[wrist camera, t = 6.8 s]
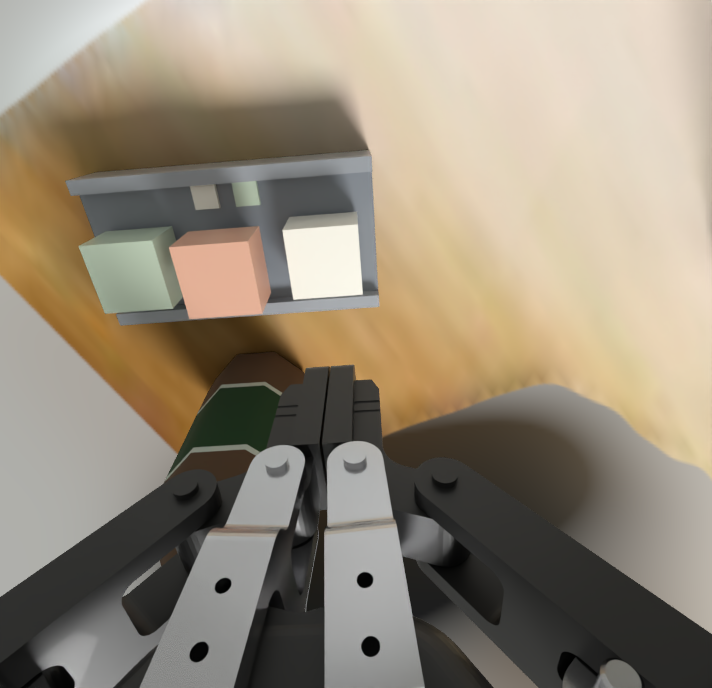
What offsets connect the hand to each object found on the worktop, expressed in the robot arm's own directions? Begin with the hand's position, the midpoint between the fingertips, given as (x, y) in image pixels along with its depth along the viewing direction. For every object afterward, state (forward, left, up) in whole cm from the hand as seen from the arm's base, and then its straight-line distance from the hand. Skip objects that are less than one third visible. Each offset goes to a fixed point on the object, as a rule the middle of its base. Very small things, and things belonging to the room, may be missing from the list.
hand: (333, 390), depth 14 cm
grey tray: (+6, -1, -18) cm, 19 cm away
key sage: (+12, 0, -15) cm, 19 cm away
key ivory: (+1, 0, -15) cm, 15 cm away
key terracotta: (+6, 0, -13) cm, 15 cm away
